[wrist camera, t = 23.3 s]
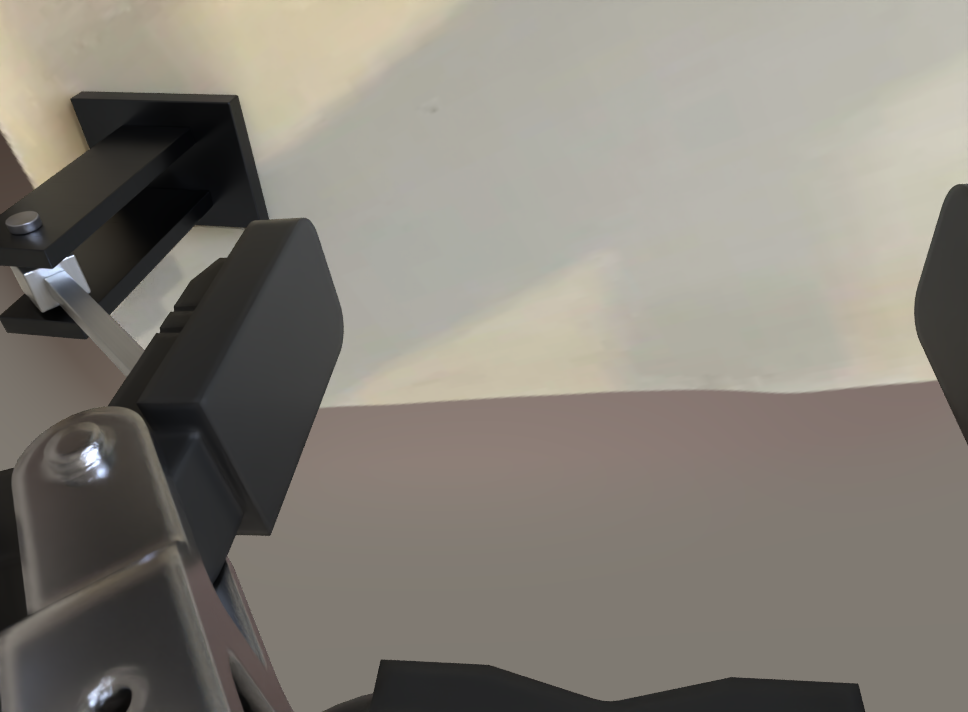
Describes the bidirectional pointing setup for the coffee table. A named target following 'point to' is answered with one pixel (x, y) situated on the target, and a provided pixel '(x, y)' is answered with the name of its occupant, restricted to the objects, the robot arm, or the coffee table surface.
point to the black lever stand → (131, 196)
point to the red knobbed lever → (79, 308)
